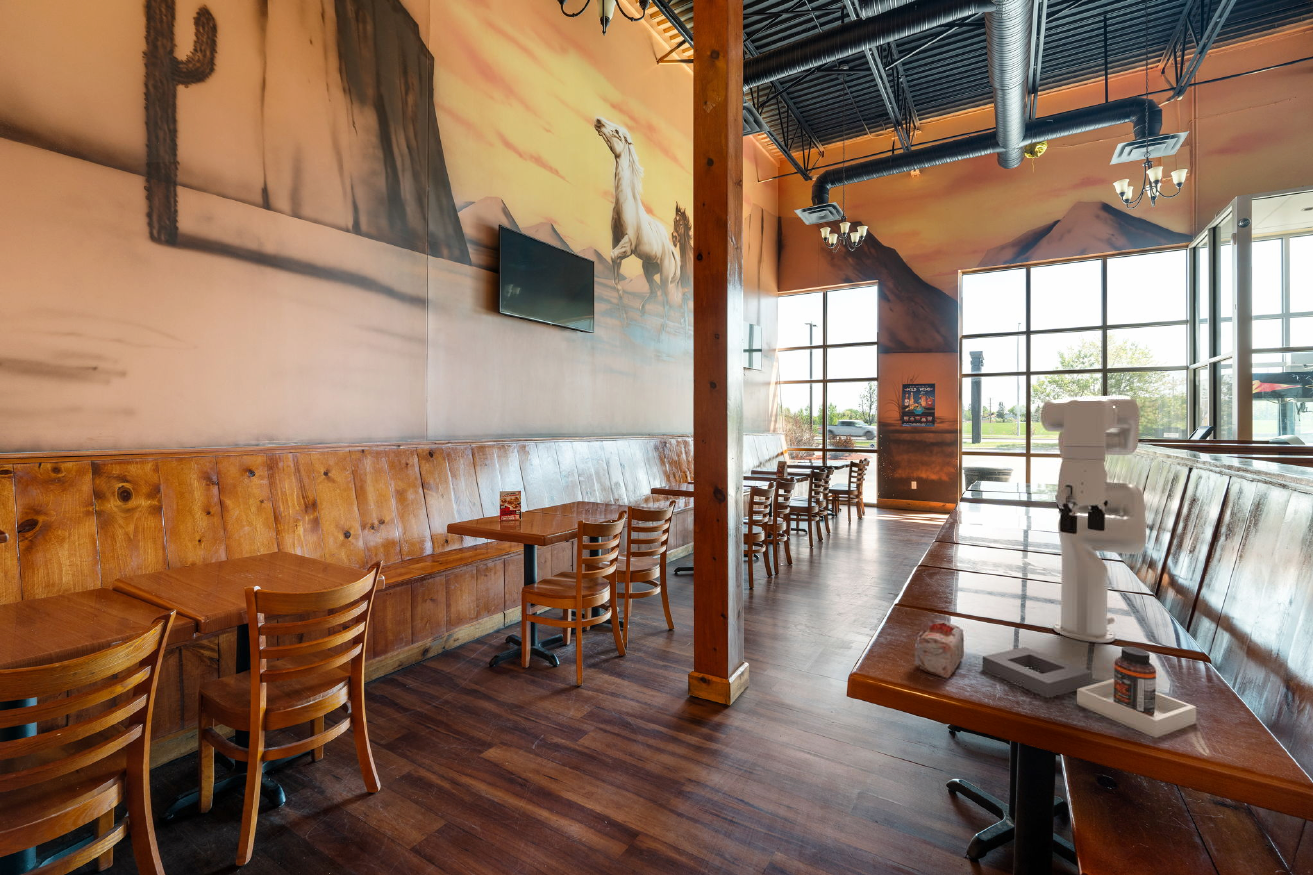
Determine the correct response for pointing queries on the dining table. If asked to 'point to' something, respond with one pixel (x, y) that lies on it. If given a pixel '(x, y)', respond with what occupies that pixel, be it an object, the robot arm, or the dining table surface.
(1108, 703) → the tray
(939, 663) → the food item
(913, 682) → the dining table surface
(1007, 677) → the frame
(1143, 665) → the supplement bottle
